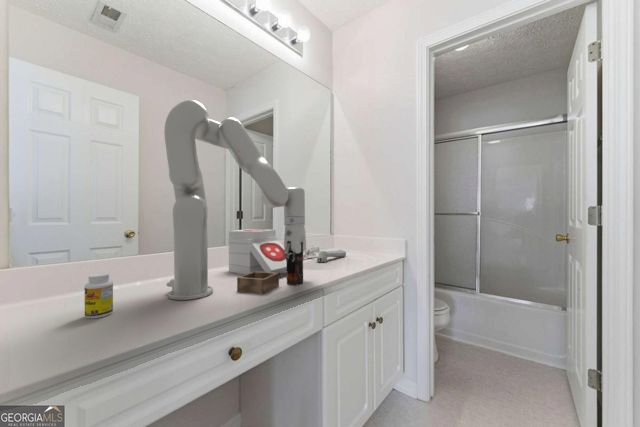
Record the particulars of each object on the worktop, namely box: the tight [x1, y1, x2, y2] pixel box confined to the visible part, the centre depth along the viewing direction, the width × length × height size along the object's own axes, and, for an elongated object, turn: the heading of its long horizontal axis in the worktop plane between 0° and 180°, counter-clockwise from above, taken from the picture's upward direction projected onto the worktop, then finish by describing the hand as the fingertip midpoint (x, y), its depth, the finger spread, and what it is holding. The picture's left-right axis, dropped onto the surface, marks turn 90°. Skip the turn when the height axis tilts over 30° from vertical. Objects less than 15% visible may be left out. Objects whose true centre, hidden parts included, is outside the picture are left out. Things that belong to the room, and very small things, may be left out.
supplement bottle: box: [84, 272, 114, 320], centre depth 68 cm, size 6×6×10 cm
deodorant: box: [286, 242, 304, 286], centre depth 98 cm, size 6×6×15 cm
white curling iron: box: [316, 249, 347, 263], centre depth 149 cm, size 5×7×25 cm
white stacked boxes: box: [228, 228, 287, 275], centre depth 118 cm, size 19×30×18 cm, turn 52°
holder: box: [236, 271, 280, 295], centre depth 91 cm, size 10×10×4 cm
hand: (294, 270), depth 98 cm, fingers closed on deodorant, 5 cm apart
